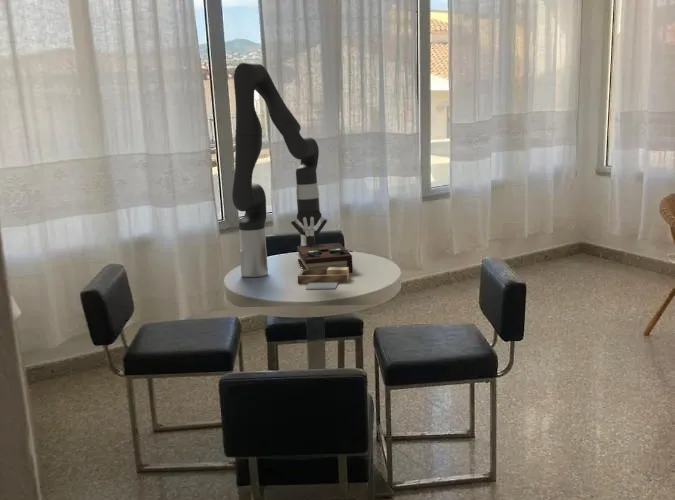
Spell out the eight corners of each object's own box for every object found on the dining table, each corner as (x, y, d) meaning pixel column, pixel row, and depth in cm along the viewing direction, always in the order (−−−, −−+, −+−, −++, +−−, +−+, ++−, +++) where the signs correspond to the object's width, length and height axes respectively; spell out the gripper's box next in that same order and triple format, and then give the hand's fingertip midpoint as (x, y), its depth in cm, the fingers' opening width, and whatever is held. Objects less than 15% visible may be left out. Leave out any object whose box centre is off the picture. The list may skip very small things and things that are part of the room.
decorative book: (341, 239, 282) (356, 254, 253) (342, 258, 284) (357, 274, 255) (293, 243, 279) (302, 258, 250) (294, 262, 280) (304, 279, 251)
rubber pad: (305, 289, 236) (305, 288, 236) (309, 283, 244) (309, 282, 243) (335, 289, 235) (335, 287, 235) (338, 283, 242) (338, 281, 242)
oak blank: (327, 281, 247) (326, 269, 246) (329, 278, 250) (329, 267, 250) (347, 281, 245) (346, 269, 244) (349, 278, 249) (348, 267, 248)
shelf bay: (298, 283, 245) (297, 276, 244) (301, 276, 254) (301, 270, 253) (347, 282, 243) (346, 275, 243) (349, 275, 252) (349, 268, 251)
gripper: (286, 199, 240) (290, 249, 243) (325, 197, 239) (328, 247, 242) (290, 196, 247) (294, 245, 251) (328, 194, 246) (331, 243, 249)
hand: (311, 246), depth 246 cm, fingers closed
